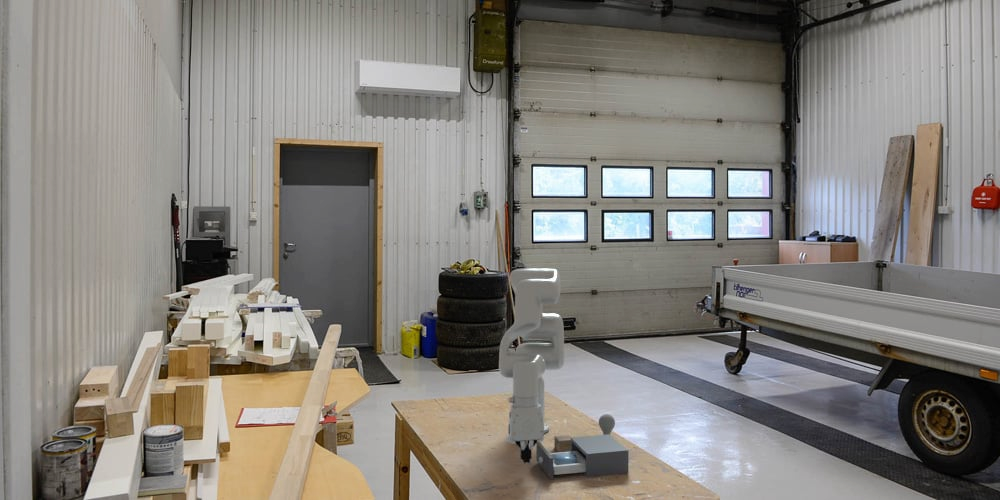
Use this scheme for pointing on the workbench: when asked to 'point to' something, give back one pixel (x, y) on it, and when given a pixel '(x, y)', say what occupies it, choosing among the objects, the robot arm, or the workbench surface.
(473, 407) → the workbench surface
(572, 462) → the pale blue dome cap
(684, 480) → the workbench surface
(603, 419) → the light bulb
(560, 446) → the brown block
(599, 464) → the box
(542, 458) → the grey drawer
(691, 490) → the workbench surface
